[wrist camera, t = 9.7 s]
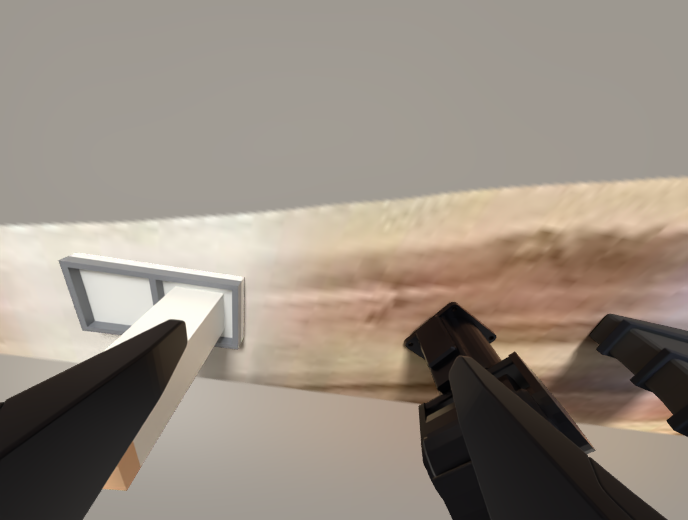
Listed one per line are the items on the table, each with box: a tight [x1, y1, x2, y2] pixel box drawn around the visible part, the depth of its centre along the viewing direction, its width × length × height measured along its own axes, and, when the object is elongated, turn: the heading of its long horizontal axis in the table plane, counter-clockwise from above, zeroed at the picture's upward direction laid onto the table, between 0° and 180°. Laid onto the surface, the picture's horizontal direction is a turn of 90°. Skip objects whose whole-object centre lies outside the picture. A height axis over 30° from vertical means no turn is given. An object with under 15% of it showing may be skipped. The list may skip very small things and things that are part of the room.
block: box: [103, 286, 224, 491], centre depth 17 cm, size 4×4×12 cm
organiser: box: [59, 253, 244, 349], centre depth 22 cm, size 14×7×2 cm, turn 80°
